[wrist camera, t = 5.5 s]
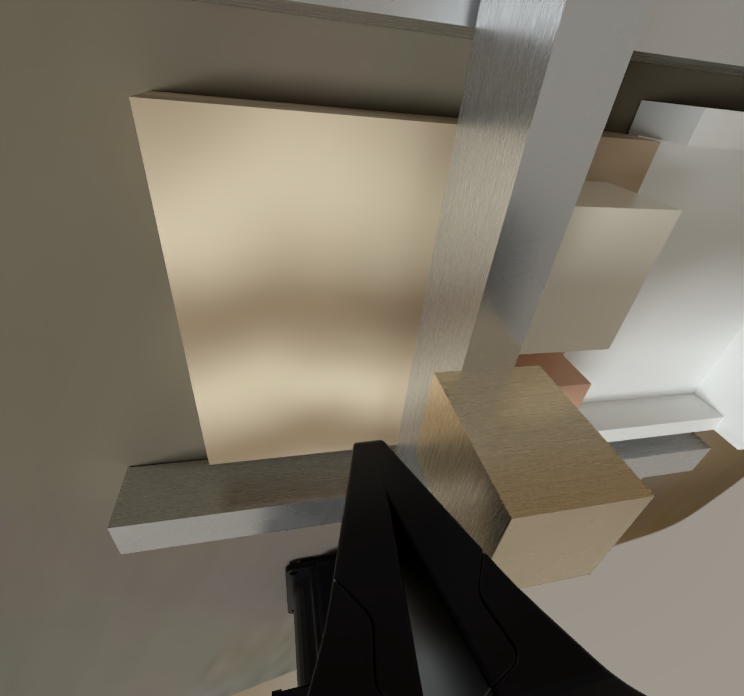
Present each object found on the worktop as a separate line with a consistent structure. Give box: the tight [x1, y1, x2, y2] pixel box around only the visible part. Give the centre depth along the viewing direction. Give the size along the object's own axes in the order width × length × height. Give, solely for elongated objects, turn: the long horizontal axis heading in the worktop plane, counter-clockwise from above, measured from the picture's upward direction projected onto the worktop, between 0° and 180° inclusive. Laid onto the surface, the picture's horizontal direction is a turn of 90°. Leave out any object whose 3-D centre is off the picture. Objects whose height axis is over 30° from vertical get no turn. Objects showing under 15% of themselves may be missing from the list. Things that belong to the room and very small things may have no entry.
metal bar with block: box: [395, 0, 654, 589], centre depth 11 cm, size 20×3×7 cm, turn 175°
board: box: [129, 91, 661, 465], centre depth 15 cm, size 13×15×2 cm
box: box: [563, 100, 744, 450], centre depth 18 cm, size 15×12×4 cm
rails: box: [108, 0, 744, 554], centre depth 16 cm, size 21×31×3 cm
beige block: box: [519, 181, 682, 354], centre depth 12 cm, size 4×4×3 cm
